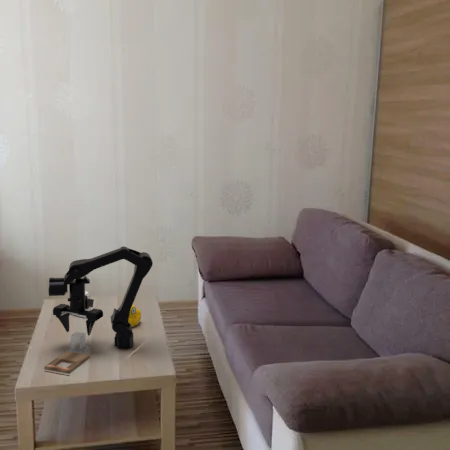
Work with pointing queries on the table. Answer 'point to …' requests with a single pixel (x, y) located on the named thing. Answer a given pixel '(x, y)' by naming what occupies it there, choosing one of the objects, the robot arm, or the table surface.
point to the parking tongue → (81, 351)
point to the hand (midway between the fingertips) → (78, 333)
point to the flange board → (67, 357)
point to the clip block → (78, 341)
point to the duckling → (134, 316)
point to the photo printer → (86, 309)
